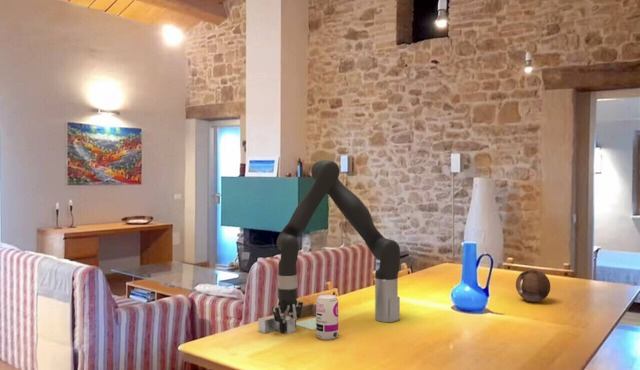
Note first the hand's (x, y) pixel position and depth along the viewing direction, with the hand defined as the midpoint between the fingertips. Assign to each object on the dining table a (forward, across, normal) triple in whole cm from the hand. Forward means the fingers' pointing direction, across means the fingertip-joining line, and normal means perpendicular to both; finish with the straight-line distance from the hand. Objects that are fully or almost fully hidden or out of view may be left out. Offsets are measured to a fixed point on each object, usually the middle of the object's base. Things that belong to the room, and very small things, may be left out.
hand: (287, 330), depth 205 cm
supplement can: (+1, +6, -16) cm, 17 cm away
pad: (0, +14, 0) cm, 14 cm away
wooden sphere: (+1, +113, -44) cm, 121 cm away
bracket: (0, -3, +3) cm, 4 cm away
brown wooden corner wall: (0, +14, +5) cm, 15 cm away
